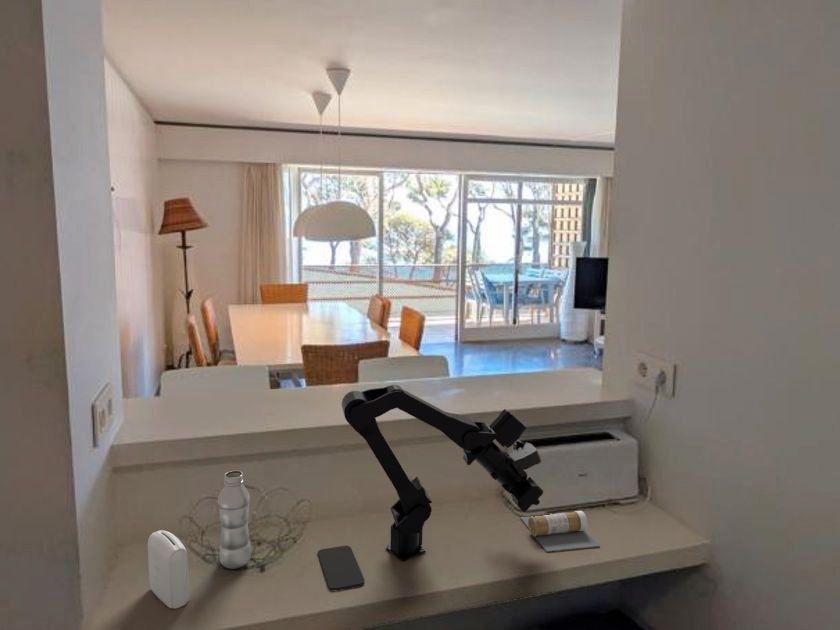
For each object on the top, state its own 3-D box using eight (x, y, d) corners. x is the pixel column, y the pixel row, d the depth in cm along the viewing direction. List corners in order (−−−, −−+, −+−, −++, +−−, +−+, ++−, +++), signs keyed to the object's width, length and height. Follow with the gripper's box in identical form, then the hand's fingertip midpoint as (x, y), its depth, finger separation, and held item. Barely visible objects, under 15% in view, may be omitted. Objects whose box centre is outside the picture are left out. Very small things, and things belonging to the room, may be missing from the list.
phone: (349, 544, 132) (366, 582, 118) (349, 548, 133) (366, 586, 119) (316, 549, 130) (329, 589, 116) (316, 553, 130) (329, 593, 116)
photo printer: (146, 588, 115) (143, 529, 113) (168, 579, 119) (166, 521, 117) (170, 613, 108) (167, 550, 107) (192, 602, 112) (190, 541, 110)
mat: (546, 552, 132) (546, 551, 132) (519, 517, 148) (519, 516, 148) (599, 546, 135) (599, 545, 135) (567, 513, 150) (567, 512, 150)
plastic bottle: (257, 558, 127) (256, 469, 124) (240, 576, 120) (238, 483, 117) (231, 553, 128) (229, 465, 125) (212, 570, 122) (209, 478, 119)
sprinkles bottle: (527, 530, 141) (578, 524, 144) (535, 540, 137) (587, 534, 140) (527, 512, 140) (579, 507, 144) (536, 521, 136) (588, 516, 139)
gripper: (536, 451, 124) (581, 496, 128) (505, 421, 142) (545, 462, 146) (499, 489, 123) (545, 533, 128) (472, 454, 141) (513, 494, 146)
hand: (538, 503), depth 137 cm, fingers closed
